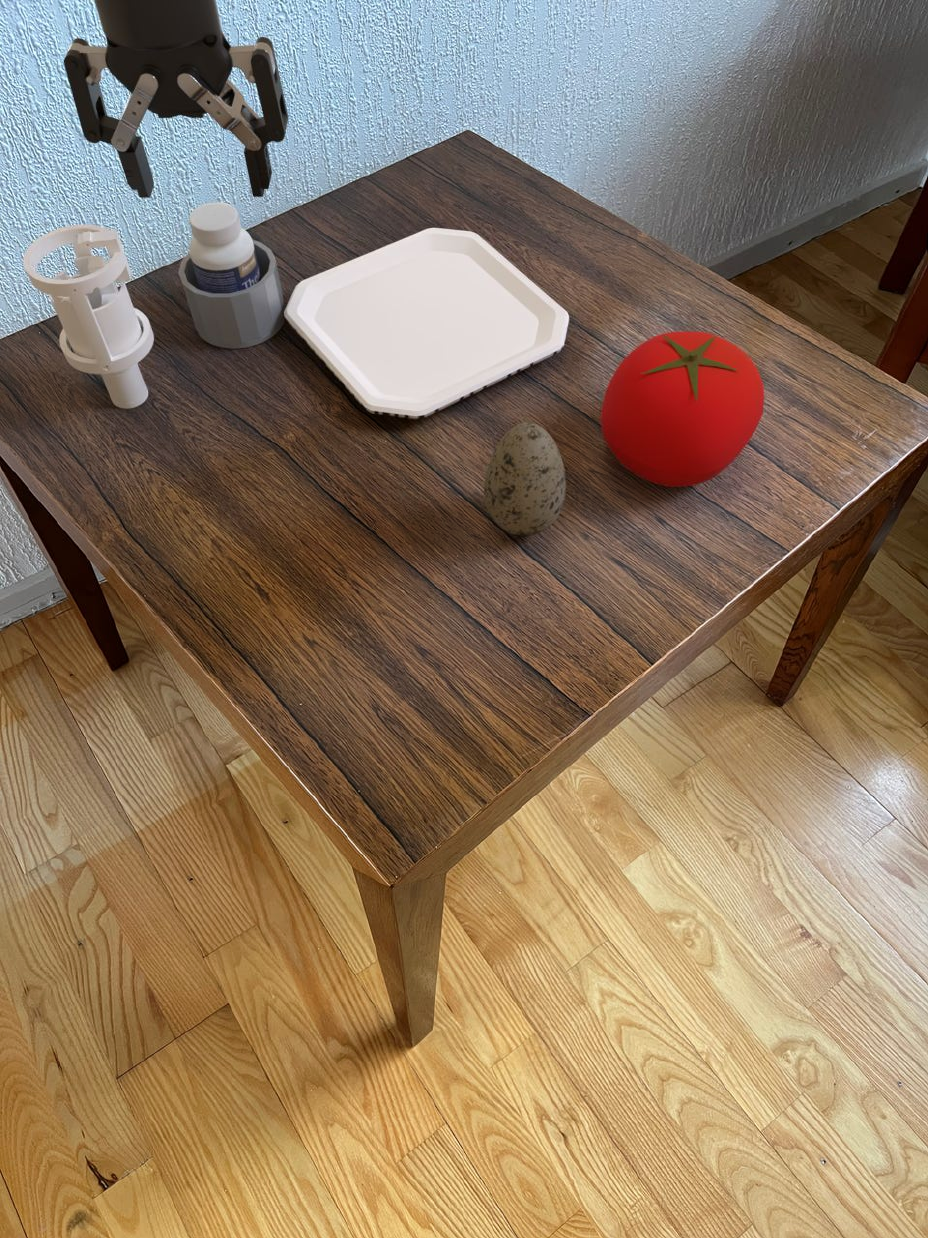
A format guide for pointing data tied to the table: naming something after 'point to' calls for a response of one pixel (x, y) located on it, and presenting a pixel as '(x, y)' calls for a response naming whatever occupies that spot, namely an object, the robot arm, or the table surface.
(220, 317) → the grey faceted pot
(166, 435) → the table surface
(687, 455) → the tomato
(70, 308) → the white ringed tube holder
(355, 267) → the plate
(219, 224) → the pill bottle
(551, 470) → the decorative egg
